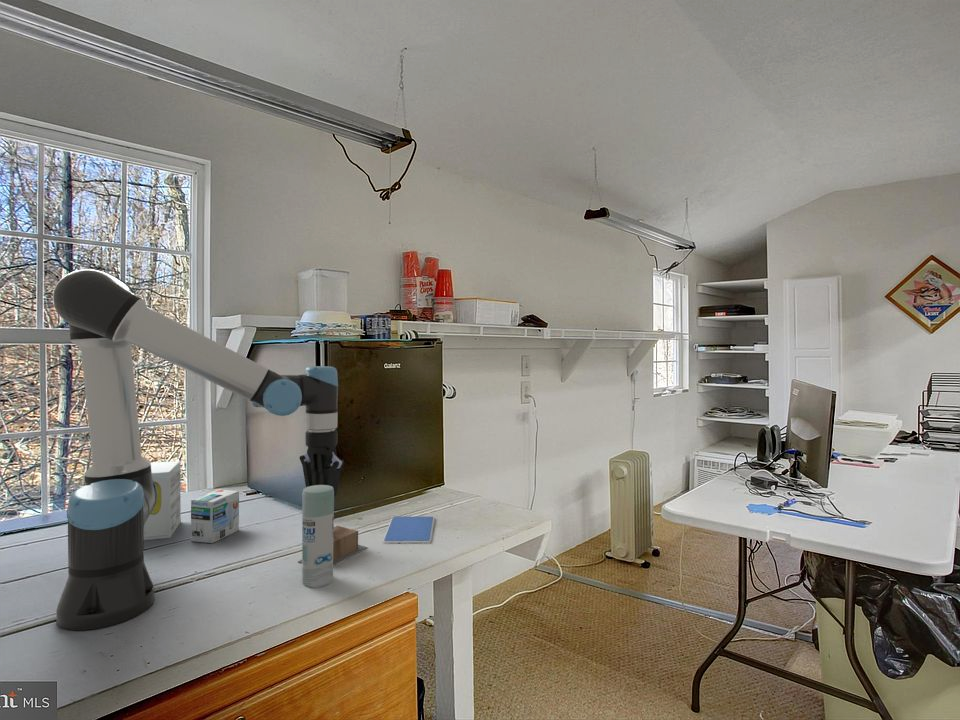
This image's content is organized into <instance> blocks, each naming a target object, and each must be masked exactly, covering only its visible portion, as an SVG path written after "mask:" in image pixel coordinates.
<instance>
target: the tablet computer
mask: <svg viewBox="0 0 960 720" xmlns="http://www.w3.org/2000/svg"><path fill="white" fill-rule="evenodd" d="M435 520H436V518H435V517H434V516H392V517H391V519H390V522H389V523H388V524H389V525H388V527H387V530H386V532H385V534H384V536H383V540H382V544H384V545H428V544H427V543H430V544H431V543H432V540H433V532H434V525H435ZM423 543H424V544H423Z"/></svg>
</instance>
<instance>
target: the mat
mask: <svg viewBox="0 0 960 720" xmlns="http://www.w3.org/2000/svg"><path fill="white" fill-rule="evenodd" d="M366 549H369V547H367V546H365V545H361V544H358V549H357V550H355V551H352V552H350V553H348V554H346V555H344V556H342V557H340V558H338V559H336V560H334V561H333V566H334V565H336V564H337V563H339V562H342V561H344V560H346V559H348V558H349V557H352V556H354V555H356V554H358V553H360V552H362V551H364V550H366ZM297 563H299V564H302V559H300V560H298V561H297Z"/></svg>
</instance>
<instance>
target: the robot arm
mask: <svg viewBox="0 0 960 720" xmlns="http://www.w3.org/2000/svg"><path fill="white" fill-rule="evenodd" d="M52 303H53V307H54V309H55V311H56V313H57V314H58V315H59V317H60V318H62V319H63V320H64V321H65V322H66V323H68V328H69V329H68V330H69V339H70V342H71V343H73V345H75V346H77V347H78V348H79V349H80V353H81V362H82V373H83V382H84V383H83V384H84V392H85V400H86V401H85V403H86V412H87V421H88V423H87V424H88V430H89V442H90V451H91V458H92V459H91V460H92V462H91V463H92V464H91V466H90V467H89V468H88V469H87V470H86V471H85V472H84V484H85V485H83V486H81V487H79V488H78V489H76V490H75V491H74V492H73V493H72V494H71V495H70V496H69V498H68V504H67V509H66V518H67V557H68V558H67V559H68V560H67V563H68V564H67V565H68V566H67V567H68V570H67V572H68V576H67V580H66V582H65V586H64V587H63V590H62V594H61V596H60V598H59V601H58V604H57V607H56V624H57V626H59V627H60V628H62V629H64V630H69V631H70V630H71V631H88V630H95V629H102V628H105V627H111V626H113V625H117V624H120V623H123V622H125V621H128V620H130V619H132V618H135V617H136V616H139V615H140V614H143V613H144V612H146V610H148V609H149V608H150V607H151V606H152V605H153V604H154V602H155V586H154V583H153V581H152V579H151V576H150V574H149V573H150V572H148V571H149V570H148V569H147V566H146V564H145V559H144V558H145V557H144V556H145V553H144V549H145V548H144V547H145V545H144V543H145V540H144V524H145V522H146V520H147V518H148V516H149V515H150V514H151V512H152V511H153V509H154V507H155V504H156V501H157V488H156V485H155V483H154V481H153V479H152V471H151V461H150V460H148V459H147V458H145V457H144V456H143V455H142V445H141V436H140V425H139V424H140V423H139V416H138V405H137V403H138V402H137V395H136V394H137V393H136V384H135V374H134V363H133V352H132V351H133V350H132V346H136V347H137V348H140V349H141V350H144V351H146V352H148V353H150V354H152V355H154V356H155V357H158V358H160V359H162V360H165V361H166V362H168V363H170V364H172V365H175V366H177V367H179V368H181V369H183V370H185V371H187V372H190V373H191V374H193V375H196V376H198V377H199V378H202V379H204V380H206V381H208V382H211V383H213V384H214V385H216V386H218V387H221V388H222V389H225V390H228V391H229V392H230V393H231V392H232V393H234V394H236V395H237V396H240V397H242V398H243V399H245V400H248V401H250V402H251V404H252V406H253V407H255V408H264V409H266V410H267V411H268V412H269V413H271V414H273V415H275V416H279V417H280V416H281V417H285V416H289V415H292V414H294V413H295V412H296V411H297V410H298V409H299V408H300V407H304V406H305V426H304V428H305V429H306V431H305V438H304V439H305V446H306V447H307V450H306V453H305V454H304V455H299V461H300V463H301V465H302V472H303V476H304V477H303V478H304V483H305V488H306V487H309V486H314V485H329V486H332V487H333V489H334V498H335V497H336V496H337V493H338V487H339V483H340V478H341V476H340V475H341V470H342V468H343V466H344V465H345V460H344V459H340V458H339V457H338V456H337V455H338V454H337V450H336V446H337V445H338V443H339V442H338V440H339V439H338V436H339V435H338V434H339V433H338V430H337V428H338V420H339V419H338V418H339V417H338V403H339V399H338V397H339V382H338V381H339V379H338V370H337V368H336V367H334V366H330V365H329V366H328V365H327V366H324V365H323V366H322V365H320V366H319V365H316V366H307V367H306V368H305V372H304V374H279V373H277V372H275V371H273V370H271V369H268V367H266V366H264V365H262V364H260V363H258V362H256V361H254V360H251V359H250V358H248V357H246V356H244V355H242V354H240V353H238V352H236V351H234V350H232V349H230V348H228V347H226V346H224V345H223V344H220V343H219V342H216V341H215V340H213V339H211V338H209V337H207V336H205V335H203V334H201V333H199V332H197V331H195V330H193V329H191V328H190V327H188V326H185V325H183V324H182V323H180V322H178V321H176V320H174V319H172V318H170V317H168V316H167V315H165V314H162V313H160V312H158V311H156V310H154V309H153V308H150V307H148V305H147V303H146V300H145V298H143V297H140V295H137V294H136V291H134V289H133V288H132V287H131V285H130V284H128V283H127V282H126V281H124V280H122V279H120V278H118V277H115V276H113V275H110V274H109V273H106V272H104V271H100V270H97V269H88V268H86V269H80V270H79V269H78V270H74V271H72V272H70V273H67V274H66V275H64V276H63V277H61V279H59V280H58V282H57V283H56V285H55V286H54V289H53V292H52Z"/></svg>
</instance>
